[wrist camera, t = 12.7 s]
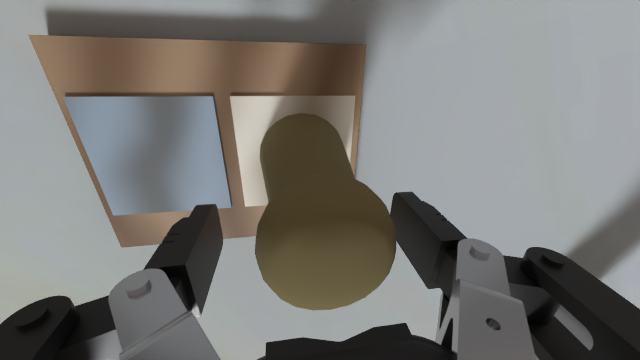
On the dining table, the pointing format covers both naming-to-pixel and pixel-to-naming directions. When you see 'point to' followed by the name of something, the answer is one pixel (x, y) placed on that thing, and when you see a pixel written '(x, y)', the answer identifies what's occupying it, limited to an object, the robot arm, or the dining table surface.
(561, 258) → the robot arm
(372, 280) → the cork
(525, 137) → the dining table surface
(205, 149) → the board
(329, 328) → the dining table surface
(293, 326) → the dining table surface
